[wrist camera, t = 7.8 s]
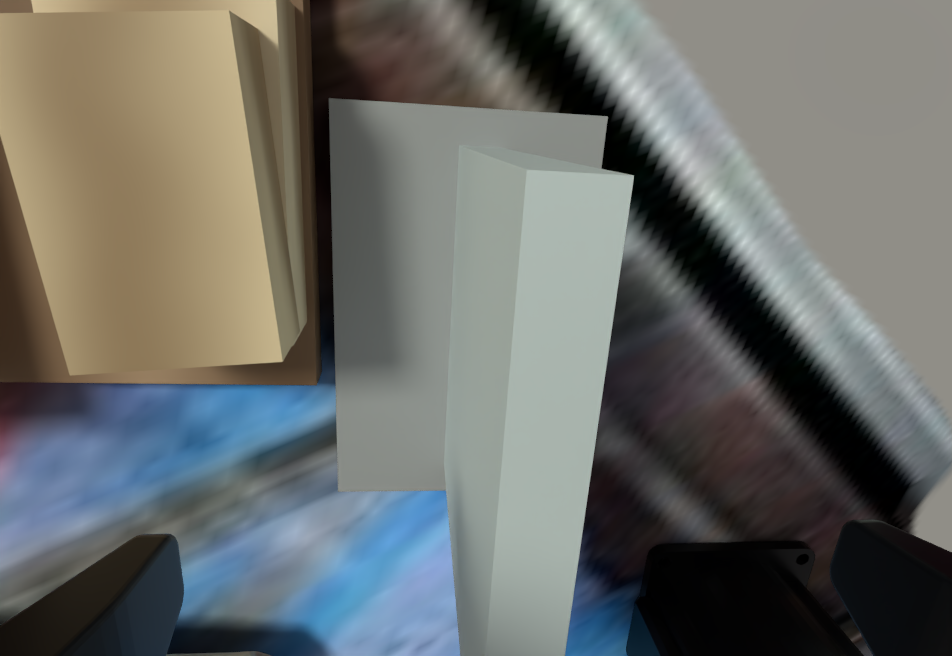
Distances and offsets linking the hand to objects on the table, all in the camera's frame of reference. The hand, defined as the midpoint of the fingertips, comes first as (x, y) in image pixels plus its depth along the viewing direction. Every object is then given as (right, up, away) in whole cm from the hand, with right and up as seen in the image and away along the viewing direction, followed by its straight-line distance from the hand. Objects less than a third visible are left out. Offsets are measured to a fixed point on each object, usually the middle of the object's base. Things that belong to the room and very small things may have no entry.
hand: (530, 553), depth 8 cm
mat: (-1, +3, +10) cm, 11 cm away
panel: (-1, +3, +10) cm, 10 cm away
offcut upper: (-7, +6, +5) cm, 11 cm away
